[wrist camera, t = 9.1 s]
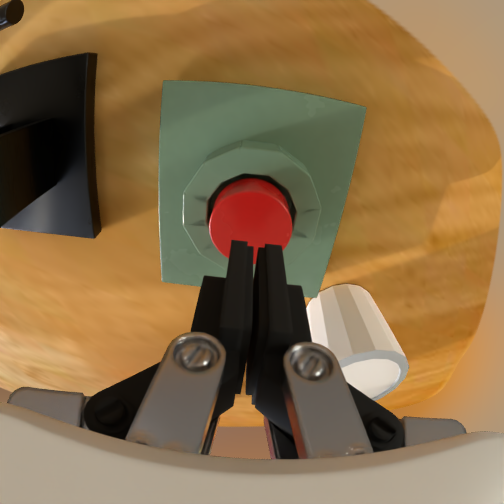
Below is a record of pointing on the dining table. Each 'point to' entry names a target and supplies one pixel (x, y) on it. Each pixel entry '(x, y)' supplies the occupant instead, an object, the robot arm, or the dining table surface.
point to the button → (250, 216)
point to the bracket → (49, 148)
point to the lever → (11, 13)
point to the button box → (252, 170)
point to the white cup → (358, 339)
